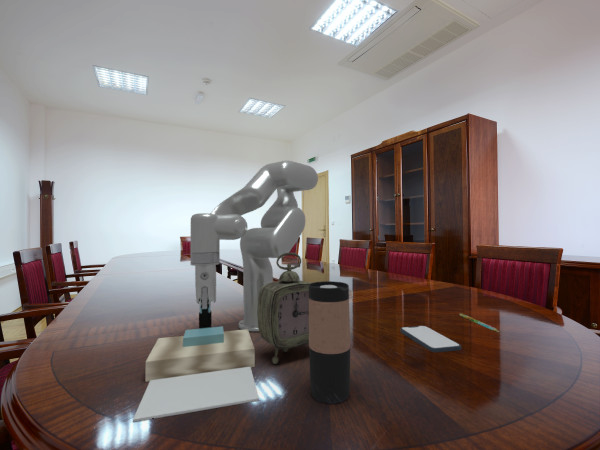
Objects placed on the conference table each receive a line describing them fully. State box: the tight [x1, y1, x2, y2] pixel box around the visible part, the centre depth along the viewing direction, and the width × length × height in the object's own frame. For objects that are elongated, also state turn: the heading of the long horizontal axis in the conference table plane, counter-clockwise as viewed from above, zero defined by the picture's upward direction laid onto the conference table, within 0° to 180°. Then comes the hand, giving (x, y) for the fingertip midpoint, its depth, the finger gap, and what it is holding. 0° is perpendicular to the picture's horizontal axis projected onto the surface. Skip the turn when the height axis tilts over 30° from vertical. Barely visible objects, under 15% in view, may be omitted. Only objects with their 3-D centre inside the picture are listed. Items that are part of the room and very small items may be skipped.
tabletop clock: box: [257, 252, 312, 365], centre depth 72 cm, size 14×9×25 cm, turn 122°
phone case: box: [400, 325, 462, 353], centre depth 80 cm, size 9×2×16 cm
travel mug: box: [308, 280, 351, 405], centre depth 54 cm, size 8×8×20 cm
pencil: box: [459, 313, 500, 333], centre depth 94 cm, size 1×1×18 cm
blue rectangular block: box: [183, 325, 225, 347], centre depth 71 cm, size 9×6×2 cm, turn 106°
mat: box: [132, 367, 260, 423], centre depth 55 cm, size 20×13×1 cm, turn 106°
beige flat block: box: [145, 329, 256, 383], centre depth 69 cm, size 22×14×4 cm, turn 106°
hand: (205, 327), depth 78 cm, fingers closed
